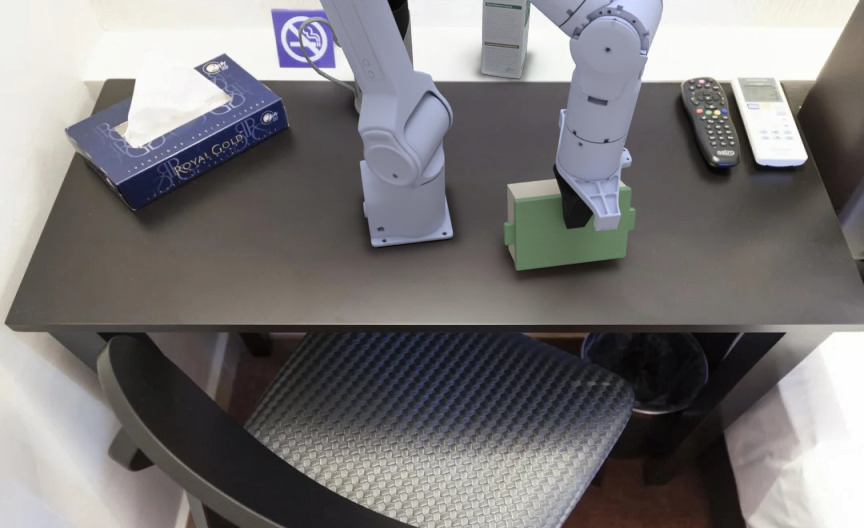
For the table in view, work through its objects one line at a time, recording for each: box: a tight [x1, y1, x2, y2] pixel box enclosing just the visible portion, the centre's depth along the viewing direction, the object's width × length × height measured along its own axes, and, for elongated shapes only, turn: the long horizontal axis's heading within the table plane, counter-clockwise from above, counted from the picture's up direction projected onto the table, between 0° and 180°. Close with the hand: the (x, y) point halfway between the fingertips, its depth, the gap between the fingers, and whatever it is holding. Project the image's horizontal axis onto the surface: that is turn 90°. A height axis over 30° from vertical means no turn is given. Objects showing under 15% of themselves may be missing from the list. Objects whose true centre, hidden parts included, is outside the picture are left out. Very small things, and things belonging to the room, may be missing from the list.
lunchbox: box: [503, 178, 637, 271], centre depth 73 cm, size 14×5×8 cm, turn 99°
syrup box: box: [480, 0, 532, 80], centre depth 89 cm, size 6×6×14 cm
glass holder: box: [297, 0, 415, 115], centre depth 84 cm, size 9×14×15 cm, turn 108°
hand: (574, 224), depth 70 cm, fingers closed
